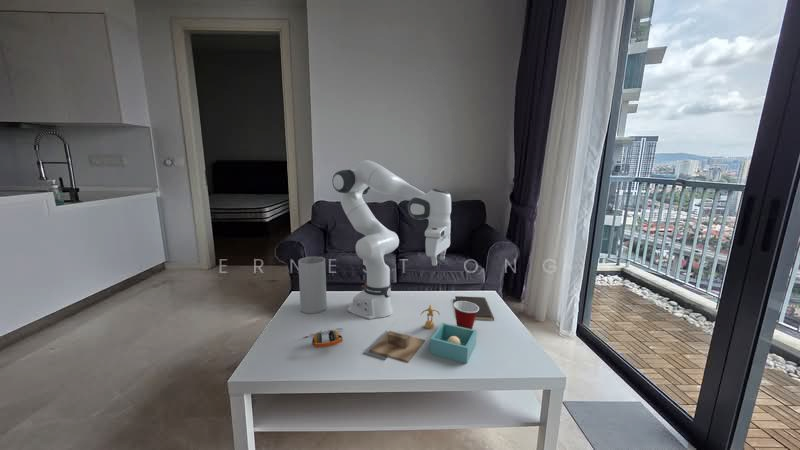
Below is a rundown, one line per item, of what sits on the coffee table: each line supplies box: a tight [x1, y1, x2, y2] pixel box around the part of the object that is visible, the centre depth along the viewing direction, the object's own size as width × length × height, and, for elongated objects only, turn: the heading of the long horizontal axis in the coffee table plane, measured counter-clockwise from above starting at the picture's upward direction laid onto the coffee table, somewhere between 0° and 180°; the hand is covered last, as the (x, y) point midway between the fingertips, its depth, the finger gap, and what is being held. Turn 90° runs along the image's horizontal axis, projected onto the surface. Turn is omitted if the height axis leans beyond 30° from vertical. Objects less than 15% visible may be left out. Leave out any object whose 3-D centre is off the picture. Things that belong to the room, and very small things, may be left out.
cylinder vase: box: [297, 256, 328, 315], centre depth 158 cm, size 12×12×25 cm
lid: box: [370, 330, 426, 363], centre depth 126 cm, size 16×16×5 cm
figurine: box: [420, 304, 441, 330], centre depth 139 cm, size 8×6×12 cm
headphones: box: [302, 327, 344, 348], centre depth 130 cm, size 17×5×20 cm
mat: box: [363, 330, 389, 361], centre depth 126 cm, size 20×18×1 cm
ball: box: [447, 336, 461, 345], centre depth 124 cm, size 5×5×5 cm
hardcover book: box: [454, 295, 495, 321], centre depth 162 cm, size 16×23×2 cm
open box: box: [429, 322, 478, 365], centre depth 124 cm, size 14×14×7 cm
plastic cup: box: [453, 301, 479, 330], centre depth 138 cm, size 11×11×12 cm
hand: (438, 262), depth 133 cm, fingers open, 8 cm apart
